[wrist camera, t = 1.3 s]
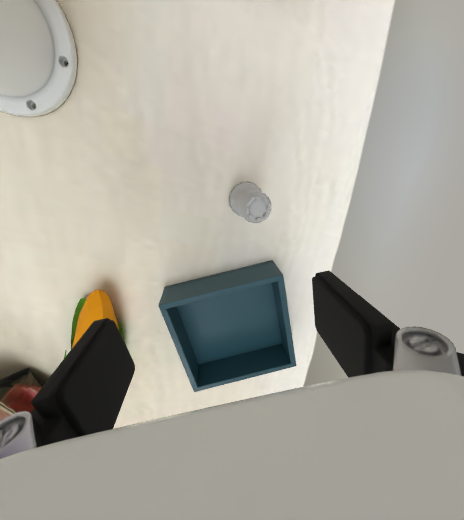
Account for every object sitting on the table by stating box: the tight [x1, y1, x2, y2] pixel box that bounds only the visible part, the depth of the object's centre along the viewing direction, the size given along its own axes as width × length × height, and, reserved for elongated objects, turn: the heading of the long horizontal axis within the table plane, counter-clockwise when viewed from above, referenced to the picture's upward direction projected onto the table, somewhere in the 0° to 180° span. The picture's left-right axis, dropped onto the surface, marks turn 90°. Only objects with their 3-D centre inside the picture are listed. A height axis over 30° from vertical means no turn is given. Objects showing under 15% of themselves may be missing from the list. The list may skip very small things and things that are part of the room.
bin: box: [159, 260, 296, 392], centre depth 35 cm, size 17×17×5 cm
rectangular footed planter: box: [0, 368, 42, 421], centre depth 36 cm, size 14×18×10 cm
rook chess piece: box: [229, 182, 271, 223], centre depth 27 cm, size 4×4×8 cm
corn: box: [64, 290, 123, 359], centre depth 32 cm, size 7×8×20 cm
